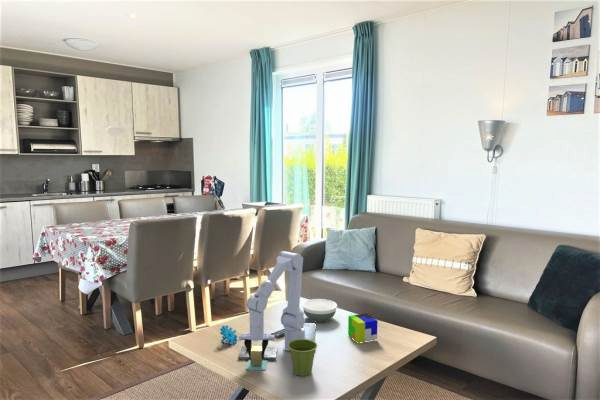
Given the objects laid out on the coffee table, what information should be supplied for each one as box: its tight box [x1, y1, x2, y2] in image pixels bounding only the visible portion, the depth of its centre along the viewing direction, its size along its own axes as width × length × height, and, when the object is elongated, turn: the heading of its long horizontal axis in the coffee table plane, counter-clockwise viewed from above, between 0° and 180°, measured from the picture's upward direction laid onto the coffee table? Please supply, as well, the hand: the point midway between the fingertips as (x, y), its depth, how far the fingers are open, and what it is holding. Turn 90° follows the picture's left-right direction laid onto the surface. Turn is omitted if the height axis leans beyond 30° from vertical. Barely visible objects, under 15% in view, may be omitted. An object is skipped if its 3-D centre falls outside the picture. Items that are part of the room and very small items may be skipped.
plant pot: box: [288, 338, 319, 377], centre depth 166 cm, size 12×12×11 cm
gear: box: [219, 325, 239, 345], centre depth 194 cm, size 11×6×10 cm
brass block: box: [251, 345, 263, 365], centre depth 172 cm, size 4×4×6 cm
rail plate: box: [237, 345, 279, 362], centre depth 181 cm, size 16×10×1 cm, turn 88°
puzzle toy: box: [347, 312, 379, 344], centre depth 199 cm, size 10×10×10 cm
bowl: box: [302, 298, 338, 323], centre depth 222 cm, size 19×19×8 cm
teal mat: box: [245, 360, 268, 371], centre depth 172 cm, size 8×8×1 cm
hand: (256, 357), depth 172 cm, fingers closed on brass block, 4 cm apart
